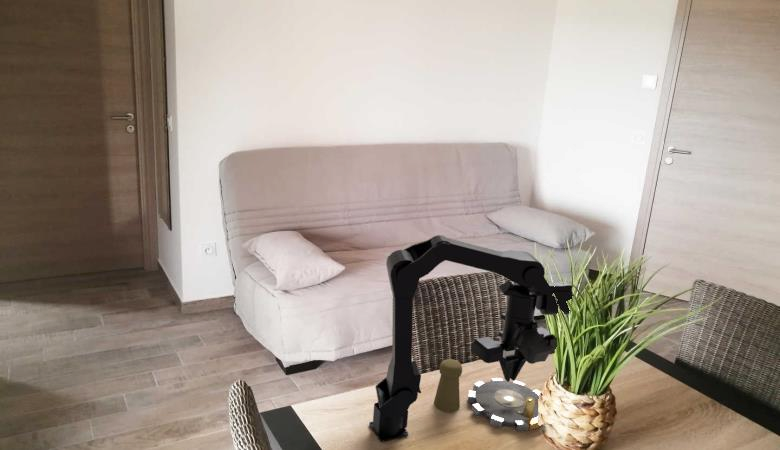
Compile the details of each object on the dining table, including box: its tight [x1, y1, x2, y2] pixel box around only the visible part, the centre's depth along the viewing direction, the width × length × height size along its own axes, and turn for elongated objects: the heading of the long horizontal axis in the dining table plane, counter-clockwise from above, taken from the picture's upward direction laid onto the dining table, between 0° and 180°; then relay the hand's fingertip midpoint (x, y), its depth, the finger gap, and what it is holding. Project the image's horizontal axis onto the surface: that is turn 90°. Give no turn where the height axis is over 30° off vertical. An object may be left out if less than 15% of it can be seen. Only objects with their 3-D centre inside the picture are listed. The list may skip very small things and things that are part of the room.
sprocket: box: [467, 377, 542, 432], centre depth 134 cm, size 19×18×6 cm
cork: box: [433, 358, 463, 413], centre depth 133 cm, size 6×6×11 cm
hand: (509, 380), depth 124 cm, fingers closed
